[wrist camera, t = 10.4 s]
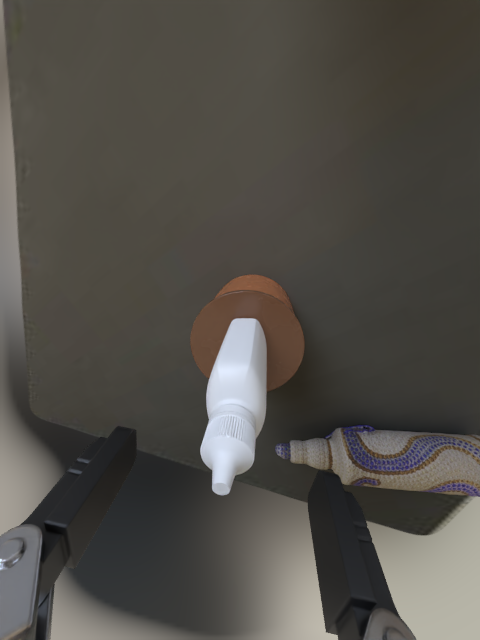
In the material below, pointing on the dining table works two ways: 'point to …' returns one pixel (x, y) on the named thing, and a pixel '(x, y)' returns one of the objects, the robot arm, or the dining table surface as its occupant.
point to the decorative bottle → (394, 459)
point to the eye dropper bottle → (235, 403)
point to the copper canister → (258, 303)
